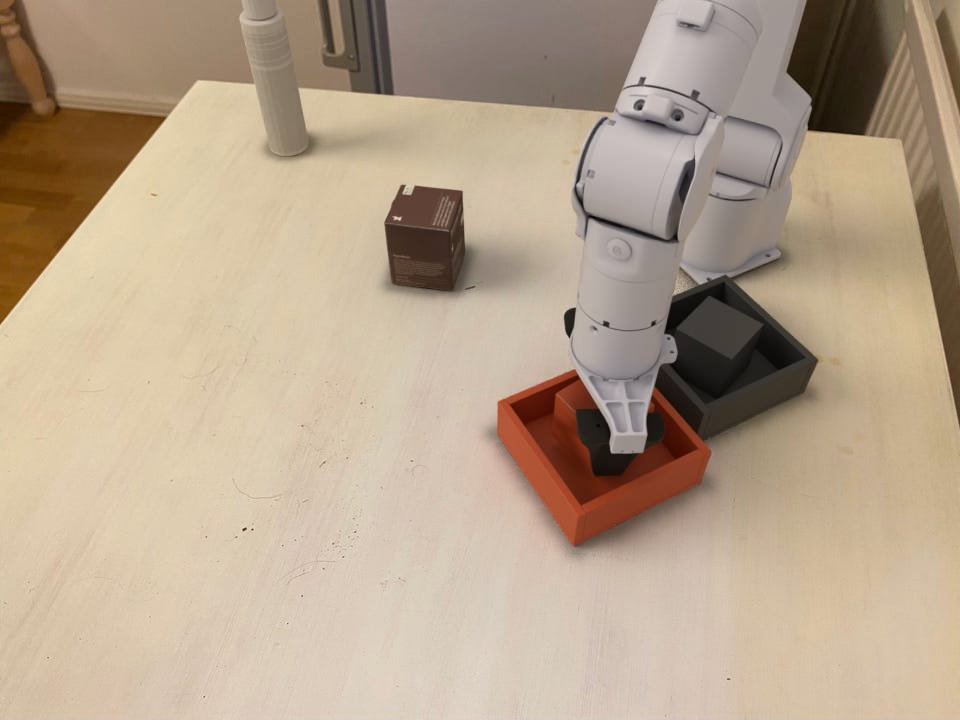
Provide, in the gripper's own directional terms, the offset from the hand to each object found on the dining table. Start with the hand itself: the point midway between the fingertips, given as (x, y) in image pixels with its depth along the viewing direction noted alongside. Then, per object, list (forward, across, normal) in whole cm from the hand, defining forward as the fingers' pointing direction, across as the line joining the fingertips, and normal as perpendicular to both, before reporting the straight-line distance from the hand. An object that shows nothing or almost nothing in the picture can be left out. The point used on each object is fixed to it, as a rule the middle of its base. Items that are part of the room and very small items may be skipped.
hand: (601, 429), depth 60 cm
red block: (+1, 0, 0) cm, 1 cm away
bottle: (+4, +43, +30) cm, 53 cm away
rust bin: (+4, 0, 0) cm, 4 cm away
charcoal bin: (+4, +9, -10) cm, 14 cm away
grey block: (+3, +8, -10) cm, 14 cm away
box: (+4, +22, +14) cm, 26 cm away
